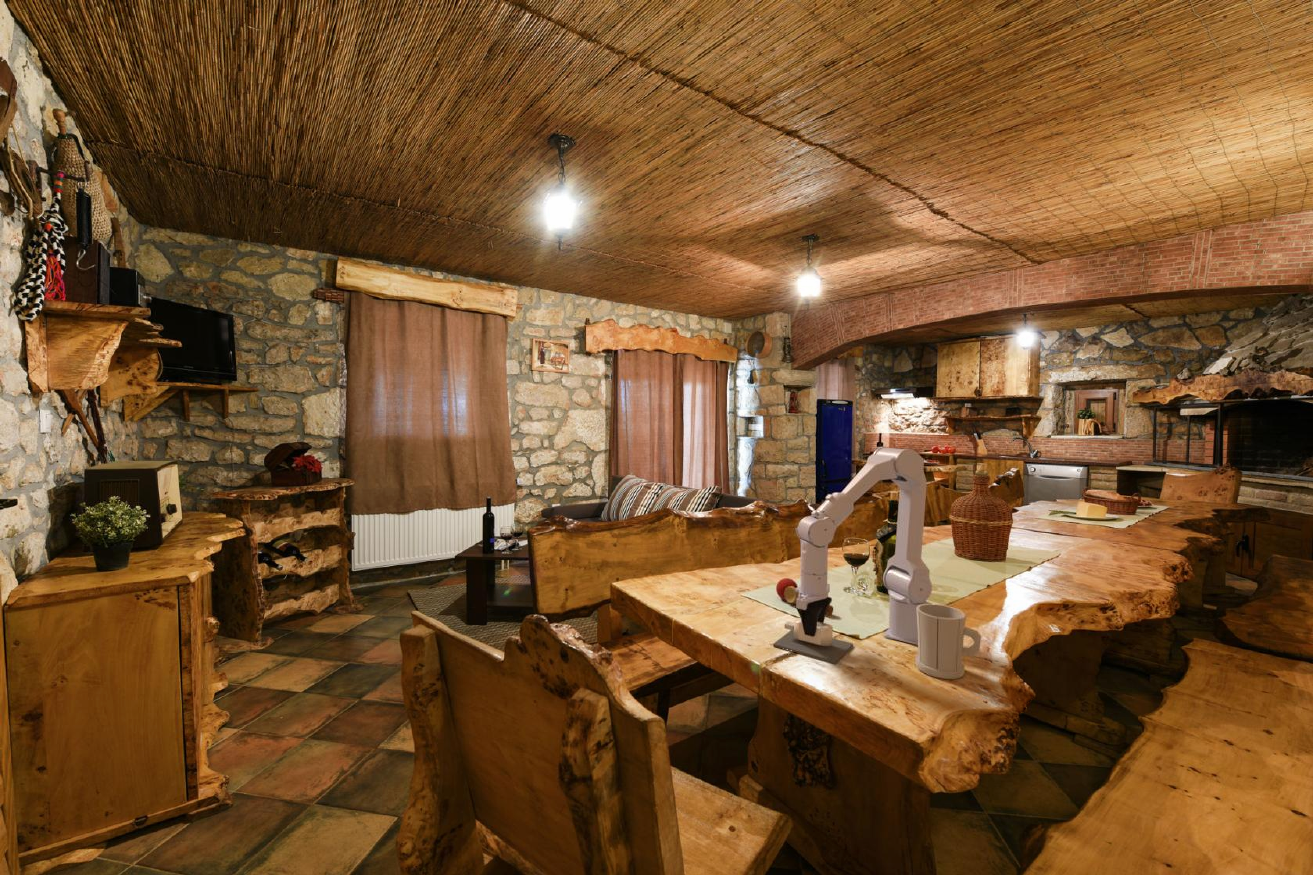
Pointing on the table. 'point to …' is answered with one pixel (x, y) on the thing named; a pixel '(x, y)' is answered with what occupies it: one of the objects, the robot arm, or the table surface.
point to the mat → (815, 648)
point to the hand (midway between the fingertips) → (813, 632)
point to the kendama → (792, 592)
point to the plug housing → (821, 635)
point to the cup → (943, 641)
